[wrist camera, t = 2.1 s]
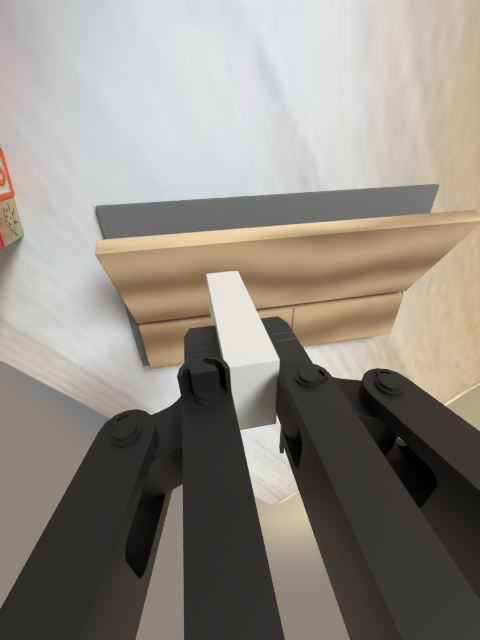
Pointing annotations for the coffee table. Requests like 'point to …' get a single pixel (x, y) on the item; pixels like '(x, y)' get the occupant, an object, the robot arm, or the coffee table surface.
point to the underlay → (258, 215)
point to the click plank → (280, 261)
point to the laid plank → (304, 319)
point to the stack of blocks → (8, 208)
